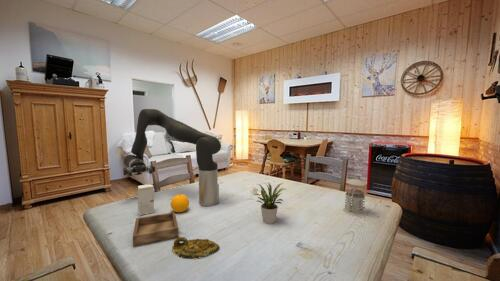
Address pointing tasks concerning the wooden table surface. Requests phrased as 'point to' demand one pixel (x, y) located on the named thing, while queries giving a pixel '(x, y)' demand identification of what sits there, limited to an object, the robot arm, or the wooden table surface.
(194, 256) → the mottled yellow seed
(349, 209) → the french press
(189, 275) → the wooden table surface
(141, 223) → the walnut box
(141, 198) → the skincare box
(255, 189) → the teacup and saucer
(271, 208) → the house plant
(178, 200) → the orange
